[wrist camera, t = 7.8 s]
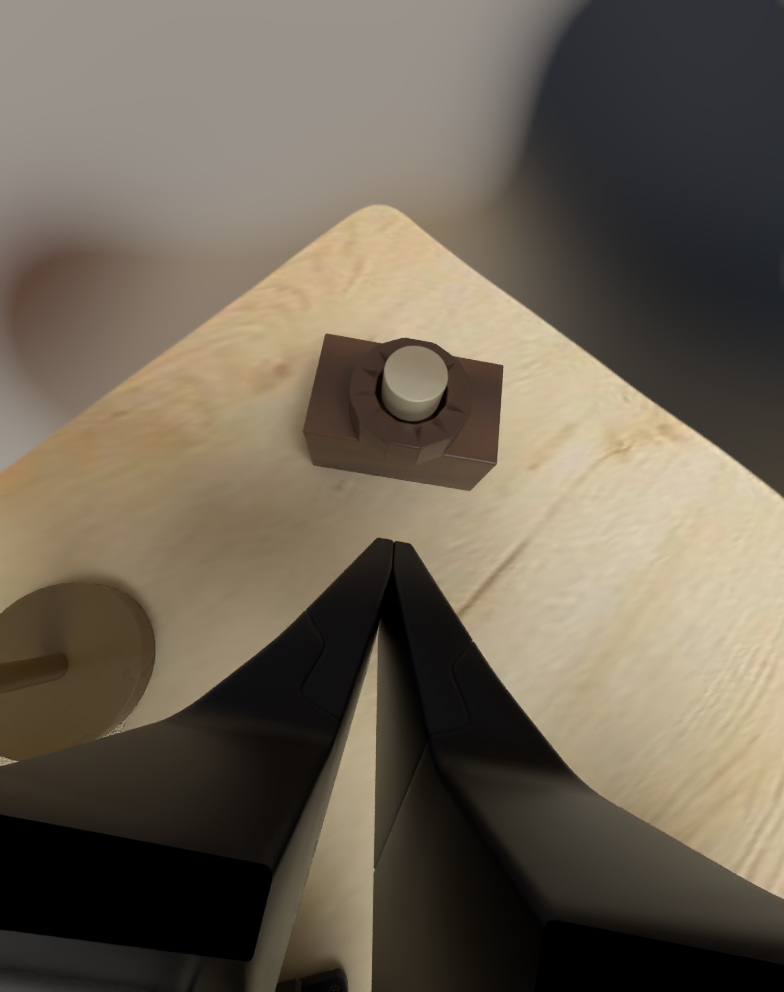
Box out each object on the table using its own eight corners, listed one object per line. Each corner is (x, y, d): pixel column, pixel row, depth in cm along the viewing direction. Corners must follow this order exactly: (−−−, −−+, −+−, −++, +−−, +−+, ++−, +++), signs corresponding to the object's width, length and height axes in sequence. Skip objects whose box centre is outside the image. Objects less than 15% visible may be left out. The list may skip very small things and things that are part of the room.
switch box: (469, 504, 24) (513, 464, 17) (310, 478, 23) (291, 427, 17) (477, 407, 26) (520, 338, 19) (330, 382, 25) (321, 301, 19)
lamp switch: (436, 426, 18) (445, 406, 16) (377, 416, 18) (379, 395, 16) (442, 375, 19) (451, 350, 17) (385, 365, 18) (388, 339, 17)
